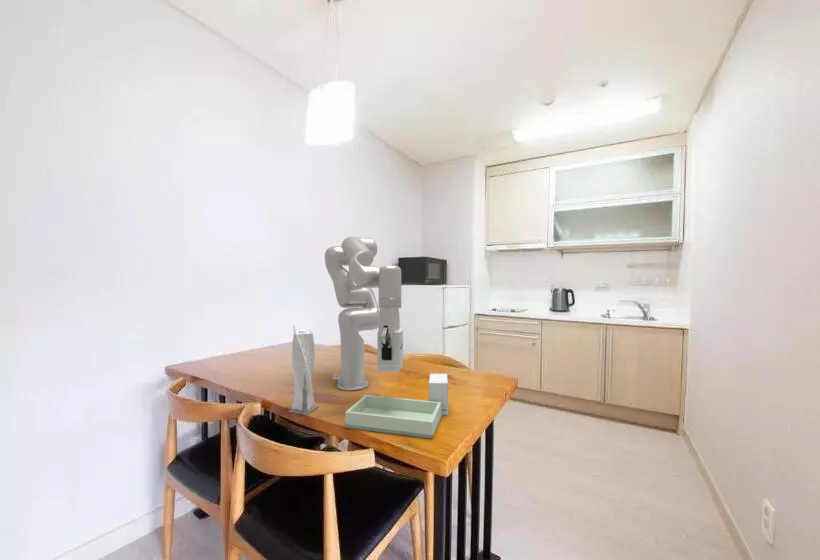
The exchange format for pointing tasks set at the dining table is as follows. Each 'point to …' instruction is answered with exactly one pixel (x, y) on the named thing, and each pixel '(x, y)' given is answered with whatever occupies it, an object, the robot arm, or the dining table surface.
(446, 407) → the skincare box
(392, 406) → the tray
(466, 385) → the dining table surface
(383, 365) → the supplement box
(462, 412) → the dining table surface
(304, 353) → the skyscraper
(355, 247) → the robot arm
